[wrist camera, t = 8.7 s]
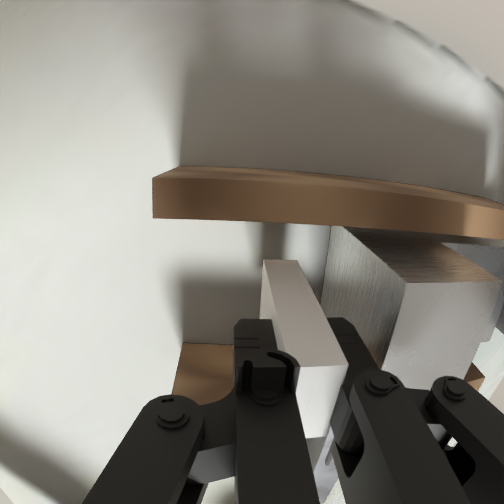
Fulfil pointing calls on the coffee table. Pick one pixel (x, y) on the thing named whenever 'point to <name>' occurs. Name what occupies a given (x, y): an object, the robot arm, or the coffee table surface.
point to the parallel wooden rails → (306, 212)
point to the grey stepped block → (415, 297)
